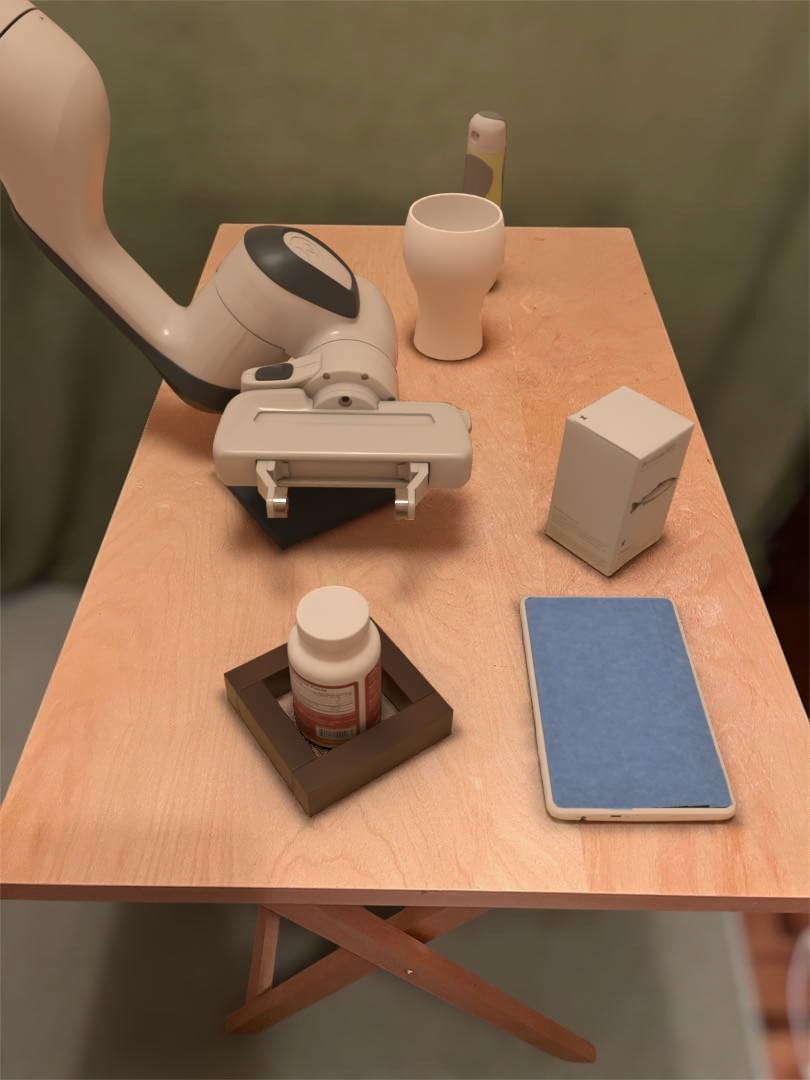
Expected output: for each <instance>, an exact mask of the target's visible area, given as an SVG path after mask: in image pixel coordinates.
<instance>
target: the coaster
mask: <svg viewBox="0 0 810 1080" xmlns="http://www.w3.org/2000/svg"><path fill="white" fill-rule="evenodd" d="M225 486H226V488H228V490H229V491H230V492H231V493H232V494H233V495H234V497H235V498H236V499H237V500H238V501H239V502H240V504H242V506H243V507H244V508H245V509H246V511H247V513H249V514H250V515H251V517H252V518H253V519H254V520H255V521H256V522H257V524H259V525H260V527H261V528H262V529H263V530H264V531H265V533H266V534H267V535H268V536H269V538H271V540H272V541H273V542H274V544H276V545H277V547H278V548H279V549H280V550H281V551H285V550H286V549H287V548H290V547H292V546H295V545H297V544H299V543H302V542H304V541H306V540H308V539H311V538H313V537H316V536H317V535H320V534H323V533H325V532H327V531H329V530H331V529H333V528H336V527H338V526H341V525H342V524H345V523H347V522H349V521H353V520H354V519H356V518H359V517H361V516H363V515H365V514H367V513H370V512H372V511H374V510H376V509H379V508H381V507H384V506H386V505H388V504H391V503H393V502H395V489H396V488H353V487H288V498H289V510H288V518H268V516H267V506H266V501H265V499H264V498H263V497H262V496H261V494H260V493H259V492H258V486H227V485H225Z"/></svg>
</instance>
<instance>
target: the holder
mask: <svg viewBox="0 0 810 1080" xmlns="http://www.w3.org/2000/svg"><path fill="white" fill-rule="evenodd" d="M370 620H371V621H372V622H373V623H374V625H375V626H376V628H377V630H378V632H379V636H380V641H381V692H382V693H383V694H384V695H385V696H386V697H387V699H388V700H389V701H390V702H391V703H392V705H393V706H394V707H395V708H396V709H397V711H398V712H396V713H394V714H392V715H391V716H389V717H387V718H386V719H384V720H381V721H380V722H378V724H376V725H375V726H373V727H371V728H369V729H367V730H366V731H364V732H362V733H360V734H359V735H357V736H355V737H353V738H351V739H350V740H348V741H346V742H344V743H343V744H341V745H339V746H337V747H335V748H331V749H330V750H328V751H327V752H325V753H323V754H321V755H320V756H318V755H317V754H316V752H315V751H314V750H313V748H312V747H311V745H310V744H309V743H308V741H307V740H306V738H305V736H304V735H303V733H302V732H301V731H300V729H299V728H298V727H297V726H296V725H295V723H294V722H293V721H292V719H291V718H290V716H289V715H288V714H287V712H286V710H284V708H283V707H282V706H281V704H280V703H279V702H278V700H277V699H276V698H278V697H281V696H282V695H284V694H287V693H288V692H290V691H292V687H291V678H290V670H289V661H288V649H287V645H288V641H286V642H285V643H283V644H281V645H279V646H276V647H274V648H272V649H271V650H269V651H267V652H265V653H263V654H261V655H258V656H256V657H254V658H253V659H250V660H248V661H246V662H245V663H242V664H241V665H238V666H236V667H234V668H233V669H230V670H228V671H226V672H224V673H223V679H224V685H225V690H226V695H227V699H228V700H229V702H230V703H231V705H232V706H233V708H234V709H235V711H236V712H237V714H238V715H239V716H240V718H241V719H242V720H243V723H245V725H246V727H247V728H248V729H249V732H251V734H252V735H253V737H254V738H255V740H256V741H257V743H258V745H259V746H260V747H261V749H262V750H263V751H264V753H265V755H266V756H267V757H268V759H269V761H270V762H271V763H272V764H273V766H274V768H275V769H276V770H277V772H278V774H279V776H281V778H282V780H284V783H285V784H286V785H287V786H288V788H289V789H290V791H291V792H292V794H293V795H294V797H295V798H296V800H297V801H298V803H299V804H300V806H301V808H302V809H303V810H304V811H305V814H307V816H308V817H309V818H311V817H312V816H314V815H316V814H318V813H319V812H321V811H323V810H325V809H326V808H328V807H329V806H331V805H333V804H335V803H336V802H337V801H340V800H341V799H343V798H344V797H346V796H348V795H350V794H351V793H353V792H355V791H356V790H358V789H360V788H361V787H363V786H365V785H367V784H369V783H370V782H371V781H373V780H375V779H377V778H379V777H380V776H382V775H383V774H385V773H387V772H389V771H390V770H392V769H393V768H395V767H397V766H398V765H400V764H402V763H404V762H405V761H408V760H409V759H411V758H412V757H414V756H416V755H417V754H419V753H421V752H423V751H425V750H426V749H427V748H429V747H430V746H432V745H434V744H435V743H438V742H440V741H441V740H443V739H445V738H446V737H447V736H449V735H451V734H452V731H453V719H454V708H453V707H452V706H451V705H450V703H448V702H447V700H446V699H445V698H444V697H443V696H442V695H441V694H440V693H439V691H437V690H436V688H435V687H434V686H433V685H432V684H431V683H430V681H429V680H428V679H427V678H426V677H425V676H424V674H422V673H421V671H420V670H419V669H418V668H417V667H416V665H414V664H413V662H412V661H411V659H409V658H408V657H407V656H406V654H404V652H403V651H402V650H401V649H400V647H398V646H397V645H396V643H395V642H394V641H393V640H392V639H391V638H390V637H389V635H388V634H387V633H386V632H385V631H384V630H383V629H382V627H381V626H380V625H379V624H378V623H377V622H376V621H375V620H374V618H373V617H372V616H371V615H370Z"/></svg>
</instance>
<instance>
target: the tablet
mask: <svg viewBox="0 0 810 1080" xmlns="http://www.w3.org/2000/svg"><path fill="white" fill-rule="evenodd" d="M518 609H519V616H520V623H521V630H522V637H523V644H524V645H523V646H524V651H525V653H524V654H525V659H526V666H527V674H528V682H529V689H530V690H529V691H530V696H531V703H532V712H533V718H534V725H535V726H534V727H535V738H536V744H537V752H538V753H537V754H538V760H539V762H540V776H541V781H542V786H543V794H544V795H543V796H544V802H545V807H546V810H547V812H548V813H549V815H551V816H552V817H553V818H555V819H557V820H565V821H580V820H582V819H584V820H585V821H589V822H590V821H591V822H592V821H593V822H595V821H596V822H697V821H698V822H700V821H701V822H702V821H726V820H729V819H731V818H732V817H734V815H735V814H736V811H737V801H736V798H735V795H734V791H733V788H732V784H731V782H730V781H731V780H730V779H729V775H728V772H727V769H726V765H725V761H724V759H723V755H722V752H721V748H720V745H719V742H718V739H717V736H716V732H715V729H714V726H713V723H712V722H713V721H712V720H711V715H710V712H709V709H708V705H707V703H706V699H705V696H704V693H703V689H702V686H701V683H700V680H699V677H698V673H697V669H696V666H695V663H694V660H693V656H692V654H691V653H692V652H691V649H690V647H689V643H688V641H687V636H686V634H685V631H684V627H683V624H682V621H681V618H680V613H679V611H678V607H677V604H676V603H675V601H674V600H673V599H671V598H670V597H667V596H660V595H659V596H657V595H655V596H646V595H642V596H641V595H640V596H639V595H637V596H635V595H527V596H525V597H523V598H522V599H521V600H520V601H519V605H518Z"/></svg>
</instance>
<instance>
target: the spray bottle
mask: <svg viewBox="0 0 810 1080" xmlns="http://www.w3.org/2000/svg"><path fill="white" fill-rule="evenodd" d="M507 136H508V135H507V122H506V120H505V118H504V117H503V116H502V115H501V114H500V113H497V112H495V111H491V110H482V111H481V110H480V111H478V113H476V114H475V115H473V116H472V118H471V119H470V121H469V124H468V134H467V144H466V147H467V148H466V149H467V150H466V154H465V157H464V158H465V159H464V172H463V183H462V184H463V185H462V194H469V195H475V196H478V197H482V198H485V199H487V200H489V201H491V202H493V203H495V204H496V205H497V206H498V207H499V208H500V209H501V210H502V203H503V193H504V181H505V167H506V154H507V146H506V144H507V143H506V142H507V138H508V137H507ZM496 281H497V279H496V280H495V282H494V284H493V285H492V287H491V288H490V289H492V288H493V287H494V286H495V284H496Z"/></svg>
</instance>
